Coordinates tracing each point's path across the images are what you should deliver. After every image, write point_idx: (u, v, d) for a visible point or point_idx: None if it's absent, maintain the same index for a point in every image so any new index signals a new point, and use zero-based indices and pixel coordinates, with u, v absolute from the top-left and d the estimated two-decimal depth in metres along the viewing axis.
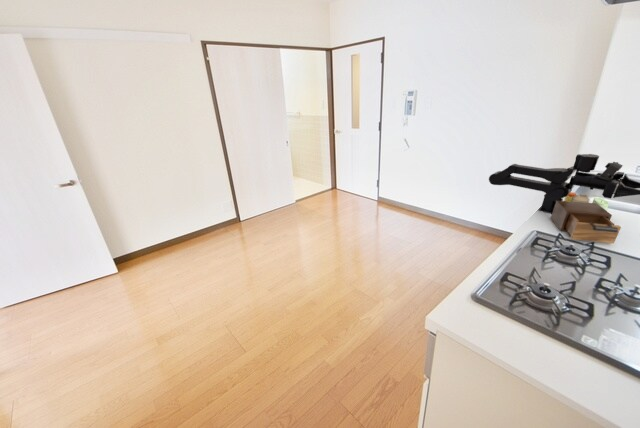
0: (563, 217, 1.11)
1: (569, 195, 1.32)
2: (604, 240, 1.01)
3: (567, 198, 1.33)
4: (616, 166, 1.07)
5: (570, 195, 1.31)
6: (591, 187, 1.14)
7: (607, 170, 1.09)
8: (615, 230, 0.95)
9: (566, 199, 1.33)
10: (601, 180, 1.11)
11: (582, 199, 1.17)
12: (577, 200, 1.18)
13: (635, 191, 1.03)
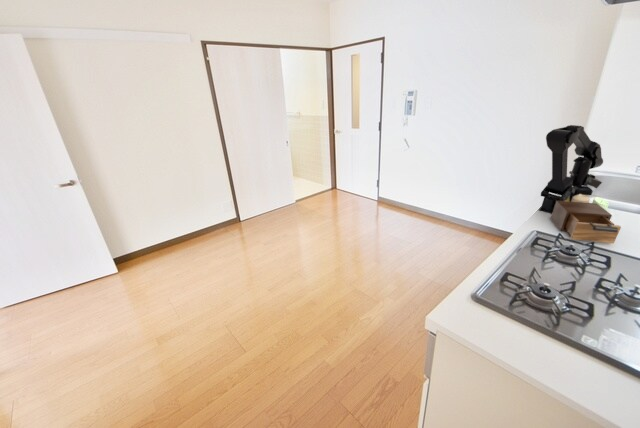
0: (563, 217, 1.11)
1: None
2: (604, 240, 1.01)
3: None
4: (598, 185, 1.25)
5: None
6: (576, 174, 1.27)
7: (595, 181, 1.25)
8: (615, 230, 0.95)
9: None
10: (584, 179, 1.26)
11: (582, 199, 1.17)
12: (577, 200, 1.18)
13: None
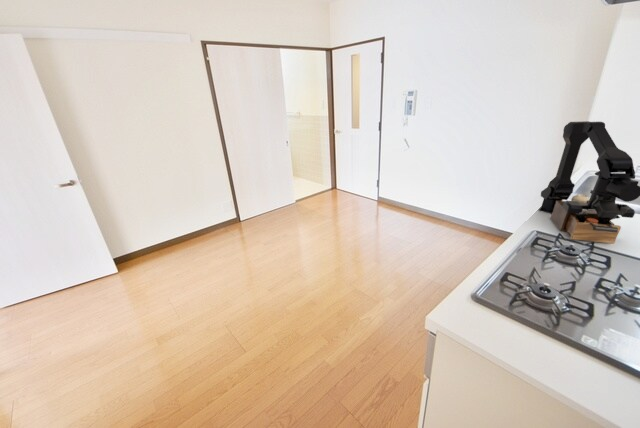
0: (563, 217, 1.11)
1: None
2: (604, 240, 1.01)
3: None
4: (601, 214, 0.96)
5: None
6: (591, 191, 1.02)
7: (599, 206, 0.97)
8: (615, 230, 0.95)
9: None
10: (594, 200, 1.00)
11: (582, 199, 1.17)
12: (577, 200, 1.18)
13: None
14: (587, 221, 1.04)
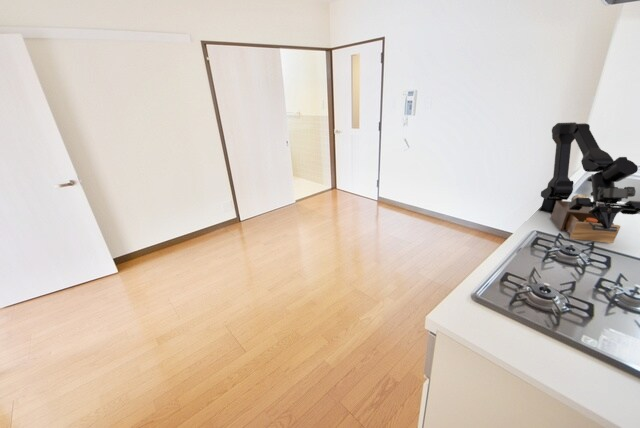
0: (563, 217, 1.11)
1: None
2: (604, 240, 1.02)
3: None
4: (611, 193, 0.92)
5: (586, 219, 1.06)
6: (592, 193, 1.02)
7: (605, 190, 0.94)
8: (614, 230, 0.95)
9: None
10: (598, 194, 0.98)
11: None
12: None
13: (604, 222, 0.96)
14: (587, 221, 1.05)
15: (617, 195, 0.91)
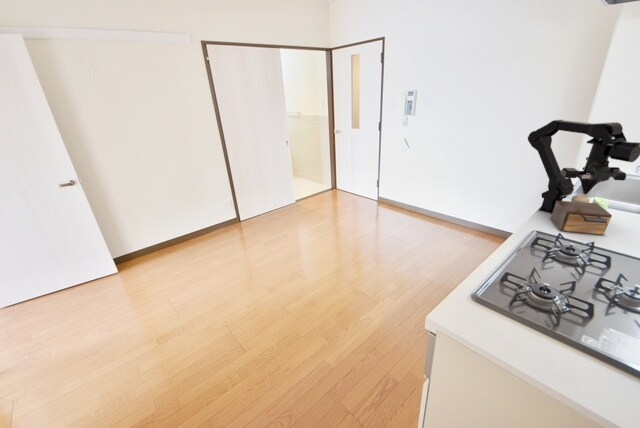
0: (563, 217, 1.11)
1: None
2: (595, 231, 1.07)
3: None
4: (595, 176, 1.05)
5: None
6: (587, 158, 1.11)
7: (594, 170, 1.06)
8: (604, 221, 1.01)
9: None
10: (589, 165, 1.09)
11: (582, 199, 1.17)
12: (577, 200, 1.18)
13: (584, 189, 1.14)
14: None
15: (600, 178, 1.05)
